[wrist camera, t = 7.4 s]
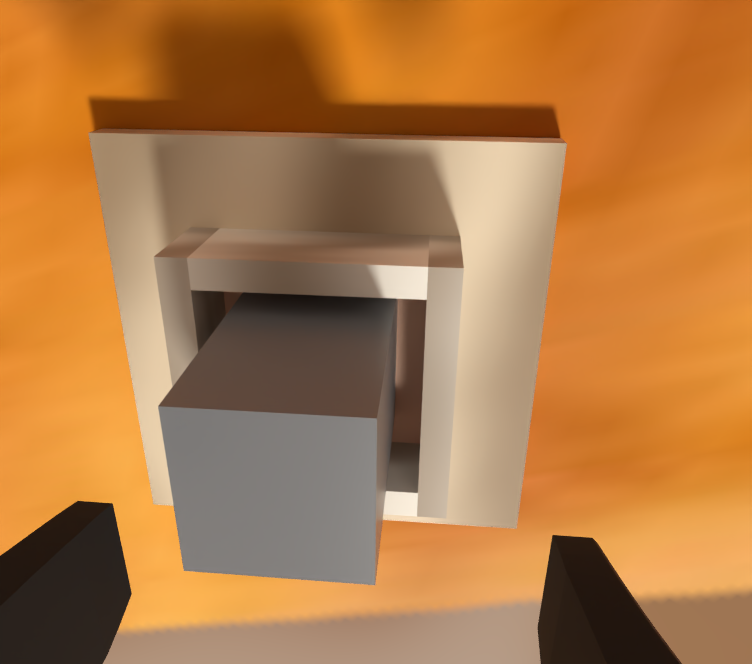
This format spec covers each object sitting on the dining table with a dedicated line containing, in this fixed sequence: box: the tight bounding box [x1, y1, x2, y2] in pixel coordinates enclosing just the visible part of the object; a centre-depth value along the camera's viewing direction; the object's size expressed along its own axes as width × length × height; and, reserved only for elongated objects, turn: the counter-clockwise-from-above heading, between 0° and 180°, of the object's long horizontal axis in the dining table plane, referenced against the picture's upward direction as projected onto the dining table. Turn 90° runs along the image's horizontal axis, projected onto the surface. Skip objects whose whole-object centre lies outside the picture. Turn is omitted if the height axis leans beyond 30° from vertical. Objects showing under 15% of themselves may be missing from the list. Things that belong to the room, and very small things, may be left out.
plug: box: [158, 292, 398, 585], centre depth 15 cm, size 4×4×6 cm
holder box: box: [89, 128, 567, 529], centre depth 18 cm, size 12×12×3 cm
